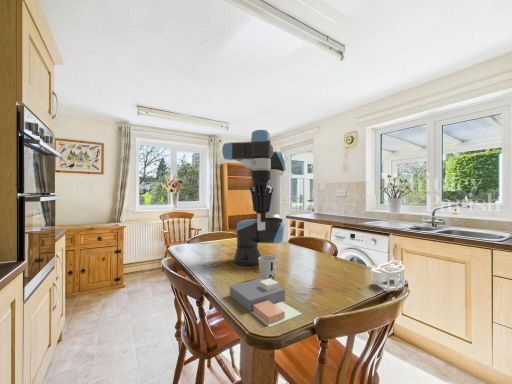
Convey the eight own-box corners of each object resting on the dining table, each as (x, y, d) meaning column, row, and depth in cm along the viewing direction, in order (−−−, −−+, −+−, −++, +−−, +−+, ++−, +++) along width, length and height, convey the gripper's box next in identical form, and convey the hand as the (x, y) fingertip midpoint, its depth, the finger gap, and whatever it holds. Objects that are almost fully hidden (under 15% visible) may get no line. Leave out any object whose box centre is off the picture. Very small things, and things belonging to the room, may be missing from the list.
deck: (230, 296, 88) (229, 286, 88) (262, 287, 97) (262, 277, 97) (250, 312, 77) (250, 300, 77) (284, 300, 85) (284, 289, 85)
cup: (271, 285, 99) (271, 261, 99) (255, 281, 103) (254, 258, 103) (279, 279, 106) (279, 257, 106) (264, 275, 110) (264, 254, 110)
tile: (252, 310, 77) (252, 304, 77) (267, 306, 80) (267, 300, 80) (268, 323, 69) (268, 317, 69) (284, 317, 73) (284, 311, 73)
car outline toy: (388, 273, 112) (388, 258, 112) (414, 280, 103) (414, 264, 103) (366, 283, 100) (366, 266, 100) (394, 292, 92) (394, 273, 92)
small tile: (259, 286, 88) (259, 281, 88) (270, 283, 91) (270, 278, 91) (267, 291, 84) (267, 285, 84) (278, 287, 87) (278, 282, 87)
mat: (250, 313, 76) (250, 312, 76) (281, 302, 84) (281, 301, 84) (269, 328, 68) (269, 326, 68) (301, 314, 75) (301, 313, 75)
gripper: (244, 171, 96) (244, 228, 96) (263, 168, 85) (263, 233, 85) (259, 171, 100) (259, 227, 100) (279, 169, 89) (279, 231, 89)
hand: (261, 229), depth 93 cm, fingers closed
